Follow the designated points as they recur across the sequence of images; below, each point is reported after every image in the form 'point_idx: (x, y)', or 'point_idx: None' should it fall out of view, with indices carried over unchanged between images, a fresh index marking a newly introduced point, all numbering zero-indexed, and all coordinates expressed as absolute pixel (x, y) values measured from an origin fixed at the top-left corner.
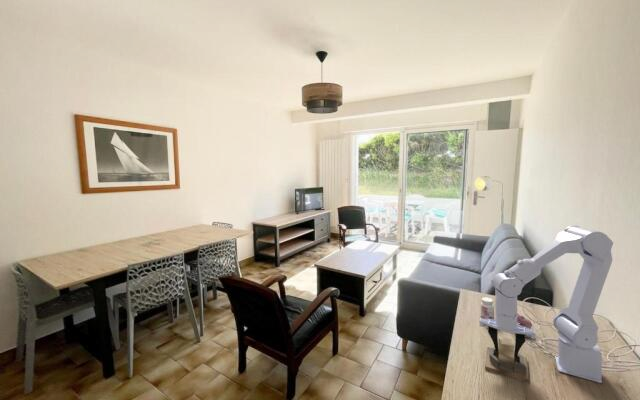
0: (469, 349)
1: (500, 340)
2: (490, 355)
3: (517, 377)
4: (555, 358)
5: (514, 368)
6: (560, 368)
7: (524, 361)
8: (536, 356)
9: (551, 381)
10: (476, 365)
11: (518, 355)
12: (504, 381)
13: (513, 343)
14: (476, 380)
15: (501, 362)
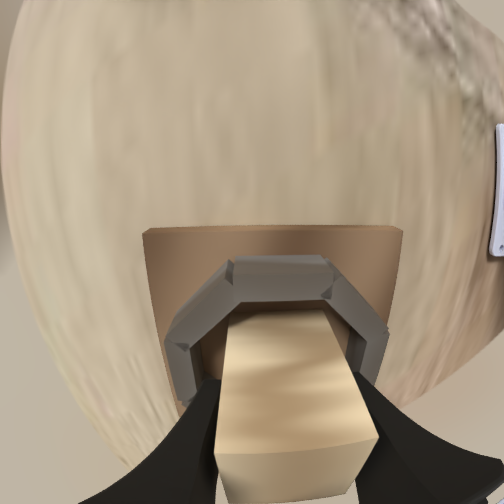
0: (71, 285)
1: (239, 488)
2: (185, 406)
3: None
4: (497, 148)
5: None
6: (500, 237)
7: (381, 287)
8: (437, 152)
9: (441, 339)
10: (144, 395)
11: (362, 329)
12: None
13: (353, 476)
14: None
15: None
